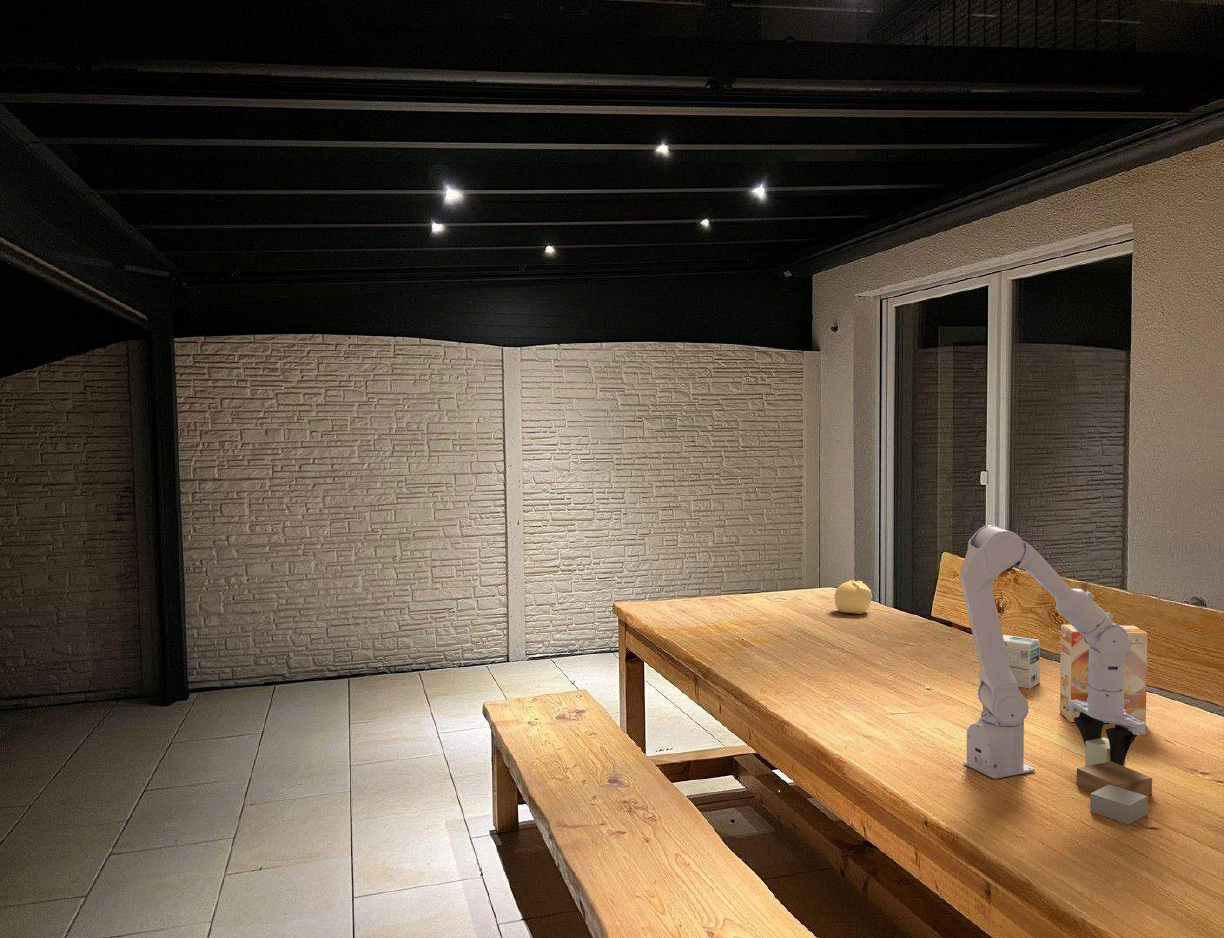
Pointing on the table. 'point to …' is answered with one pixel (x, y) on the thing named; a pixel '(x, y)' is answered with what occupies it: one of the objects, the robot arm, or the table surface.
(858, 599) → the pale yellow round lump
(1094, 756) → the sage block
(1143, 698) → the coffeecake box
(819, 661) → the table surface
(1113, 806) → the slate block
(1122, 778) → the walnut block
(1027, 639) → the light bulb box
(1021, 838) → the table surface
